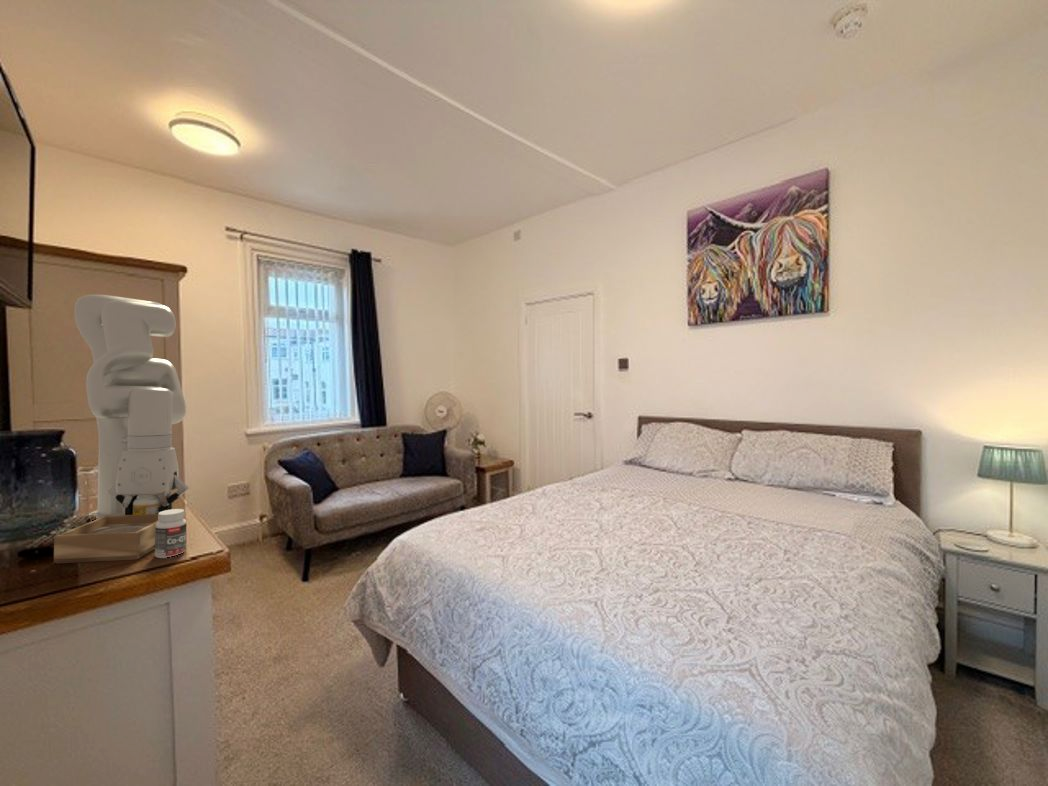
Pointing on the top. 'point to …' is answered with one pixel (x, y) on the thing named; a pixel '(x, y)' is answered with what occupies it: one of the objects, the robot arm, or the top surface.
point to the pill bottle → (170, 533)
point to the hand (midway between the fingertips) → (148, 522)
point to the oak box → (107, 539)
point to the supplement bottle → (146, 505)
